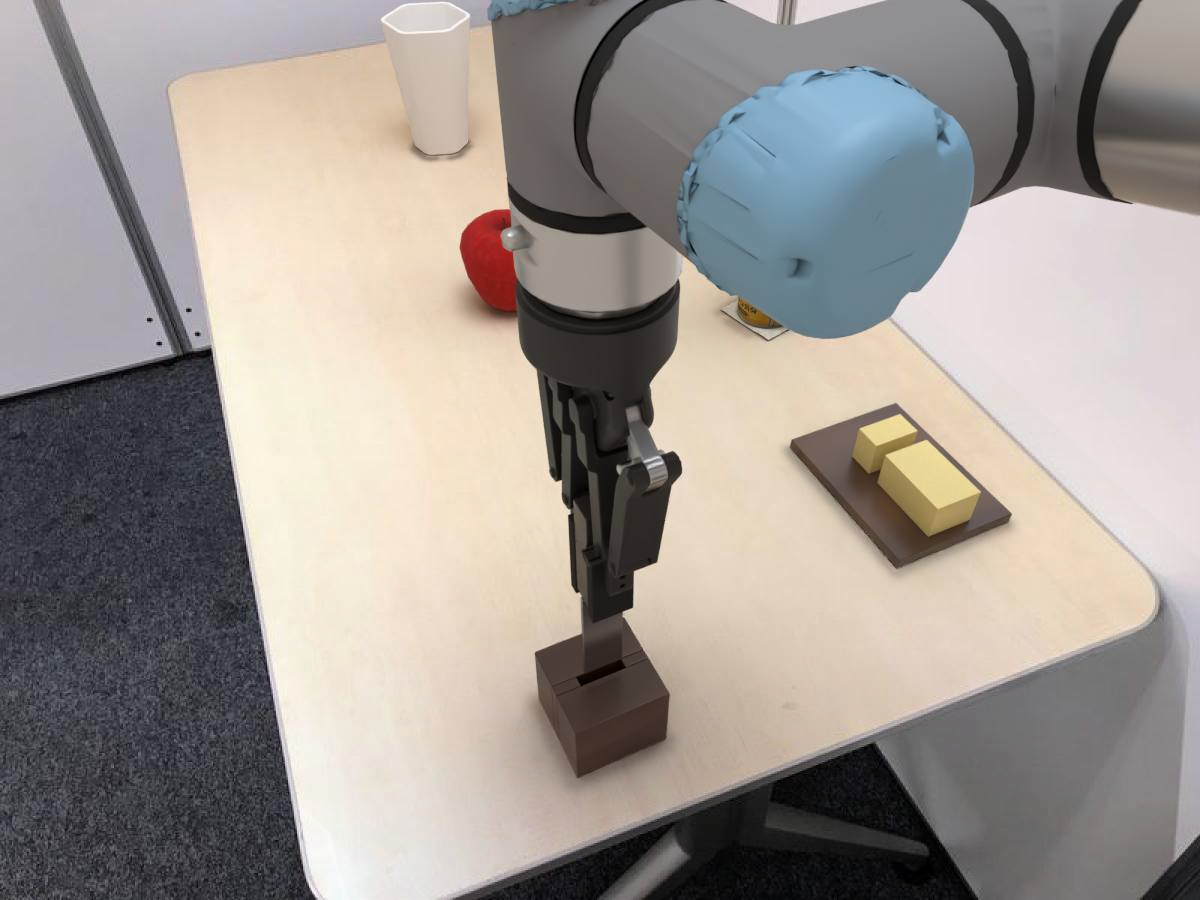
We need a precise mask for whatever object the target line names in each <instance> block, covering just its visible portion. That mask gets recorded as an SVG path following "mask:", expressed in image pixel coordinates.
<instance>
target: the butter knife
mask: <svg viewBox="0 0 1200 900" xmlns="http://www.w3.org/2000/svg"><path fill="white" fill-rule="evenodd" d="M573 506H574V530H575V553H576V577H577V589H578V591H579V595H580V597H579V598H580V599H579V600H580V622H581V623H580V627H581V634H582V653H583V671H584V673H585V674H586V673H588V672H590V671H593V670H595V669H598V668H600V667H603V666H605V665H608V664H610V663H612V662H615V661H617V660H620V659H622V635H623V617H624V612H621V613H619V614H616V615H614V616H611V617H609V618H606V619H604V620H601V621H598V622H596V623H593V622H592V620H591V619H590V617H589V615H588V596H587V565H586V563H585V561H584V558H583V556H582V552H581V550H582V549H585V548H586V545H587V544H590V543H593V531H592V518H591V504H590V494H587V495H584V496H581V497H578V498H576V499H573Z"/></svg>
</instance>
